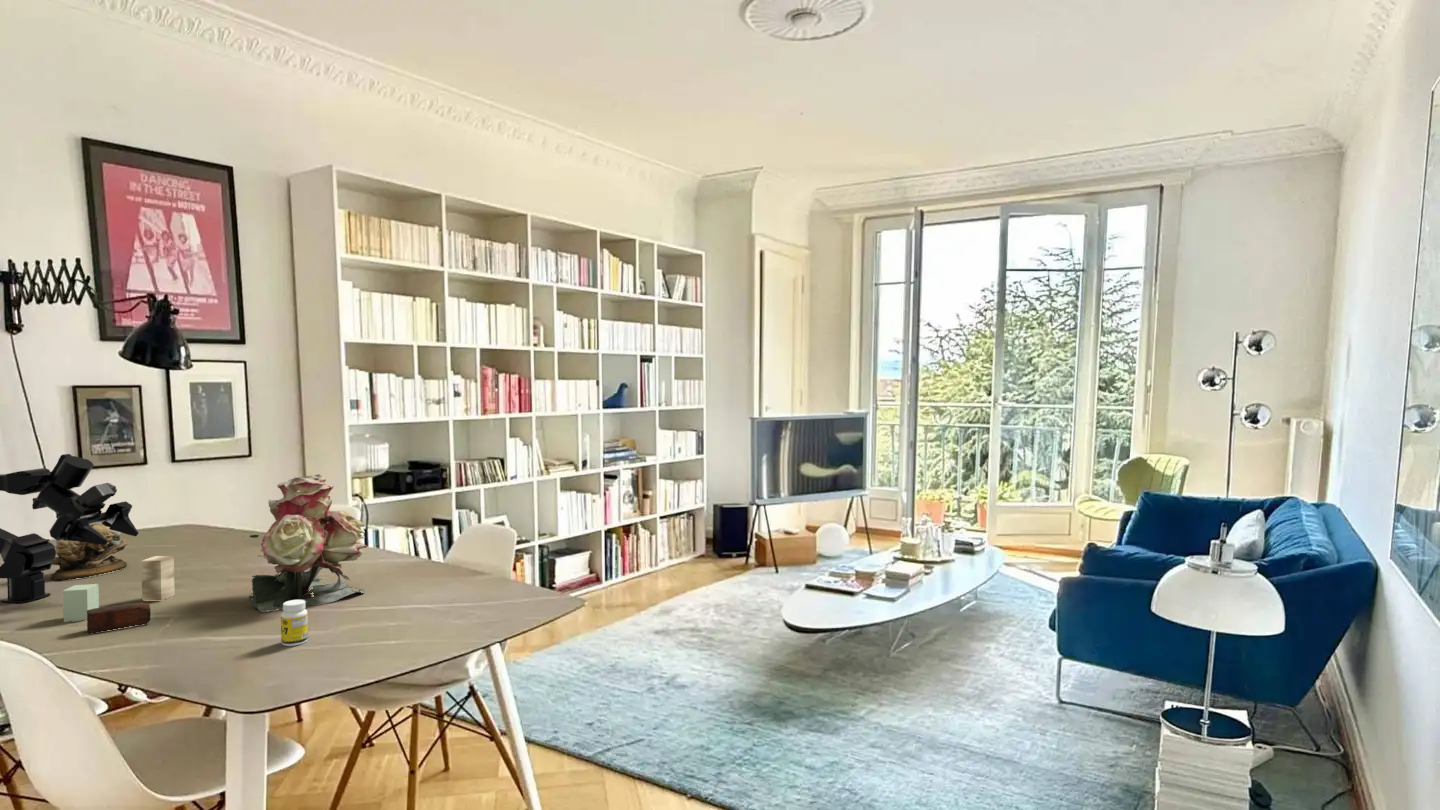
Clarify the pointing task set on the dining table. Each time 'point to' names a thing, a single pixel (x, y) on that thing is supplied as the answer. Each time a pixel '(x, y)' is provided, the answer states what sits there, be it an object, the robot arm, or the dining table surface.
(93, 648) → the dining table surface
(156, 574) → the maple block
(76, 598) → the sage block
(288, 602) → the supplement bottle
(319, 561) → the rose bouquet
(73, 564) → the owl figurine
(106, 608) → the brick
